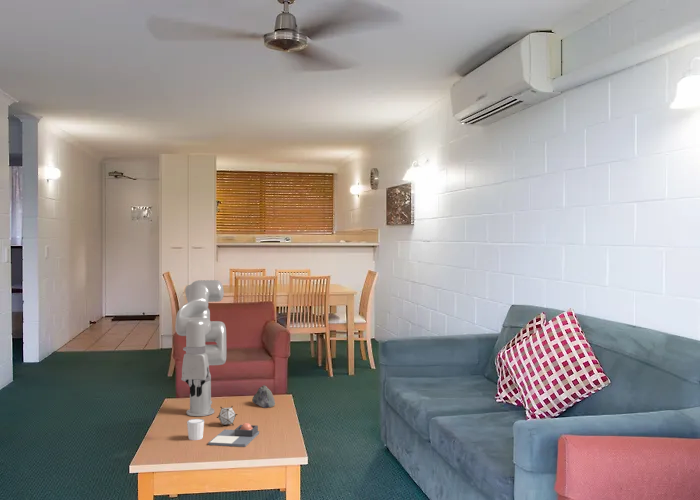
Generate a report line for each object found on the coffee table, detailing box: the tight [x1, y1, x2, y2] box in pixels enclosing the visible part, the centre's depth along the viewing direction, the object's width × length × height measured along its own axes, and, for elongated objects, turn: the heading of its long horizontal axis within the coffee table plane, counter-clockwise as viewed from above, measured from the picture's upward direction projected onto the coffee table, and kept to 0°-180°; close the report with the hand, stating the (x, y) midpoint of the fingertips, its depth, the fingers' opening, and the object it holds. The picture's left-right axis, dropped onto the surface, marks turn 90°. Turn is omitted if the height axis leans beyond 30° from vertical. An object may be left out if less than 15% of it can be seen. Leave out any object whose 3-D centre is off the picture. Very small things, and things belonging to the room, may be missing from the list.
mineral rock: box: [251, 384, 276, 409], centre depth 315 cm, size 13×11×10 cm
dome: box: [240, 422, 253, 430], centre depth 264 cm, size 5×5×4 cm
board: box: [207, 424, 260, 448], centre depth 260 cm, size 18×15×4 cm
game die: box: [216, 405, 238, 427], centre depth 280 cm, size 9×8×10 cm
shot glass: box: [186, 418, 205, 441], centre depth 262 cm, size 7×7×7 cm
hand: (195, 395), depth 261 cm, fingers closed
